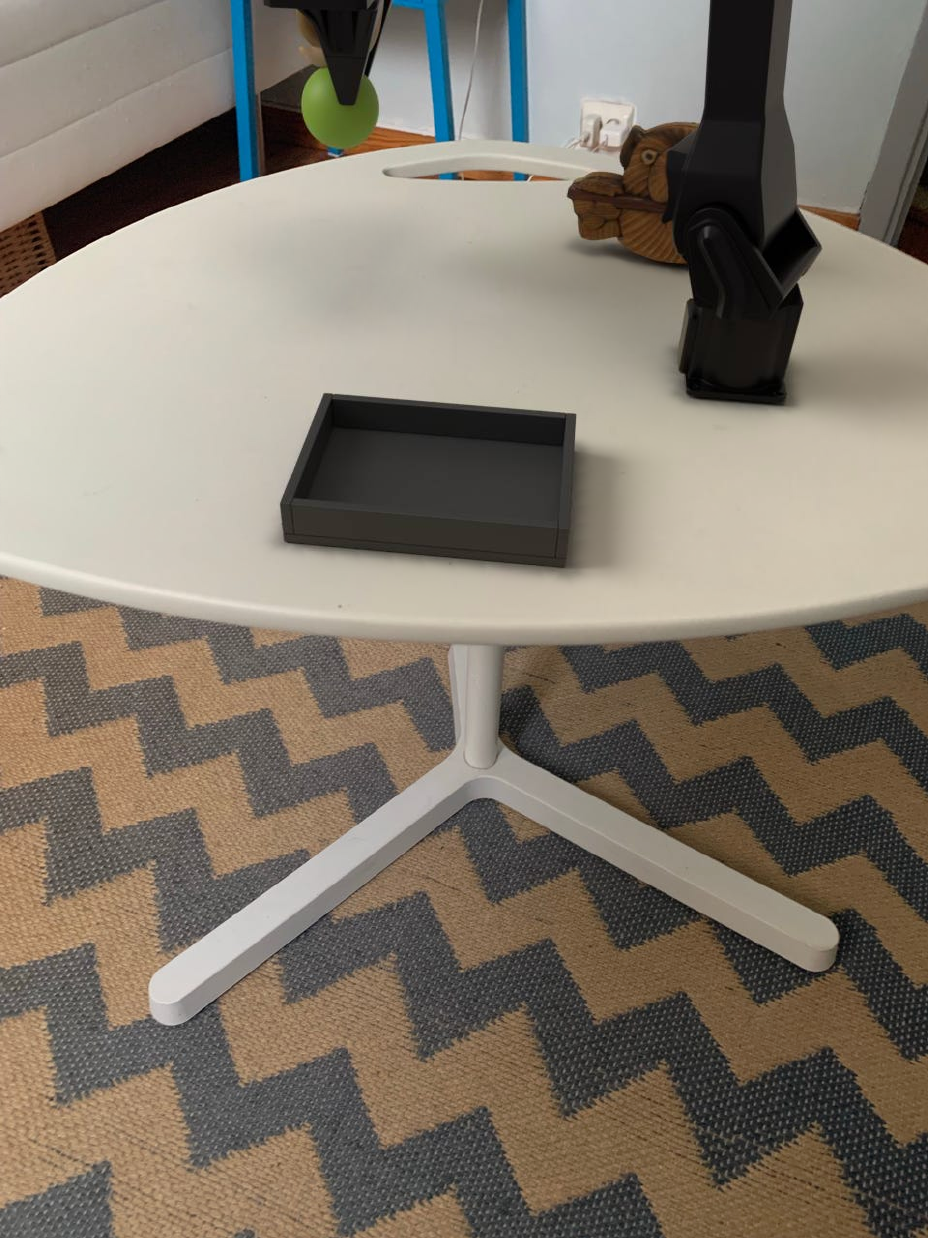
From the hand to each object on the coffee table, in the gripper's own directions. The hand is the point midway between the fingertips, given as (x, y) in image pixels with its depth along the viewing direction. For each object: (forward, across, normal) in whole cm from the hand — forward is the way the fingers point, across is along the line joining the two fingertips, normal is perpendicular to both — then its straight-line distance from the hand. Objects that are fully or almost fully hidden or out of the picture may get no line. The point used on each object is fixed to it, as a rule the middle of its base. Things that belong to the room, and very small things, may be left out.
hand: (352, 96), depth 72 cm
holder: (+13, +28, +10) cm, 32 cm away
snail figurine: (+4, 0, 0) cm, 4 cm away
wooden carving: (+13, -6, +23) cm, 27 cm away
